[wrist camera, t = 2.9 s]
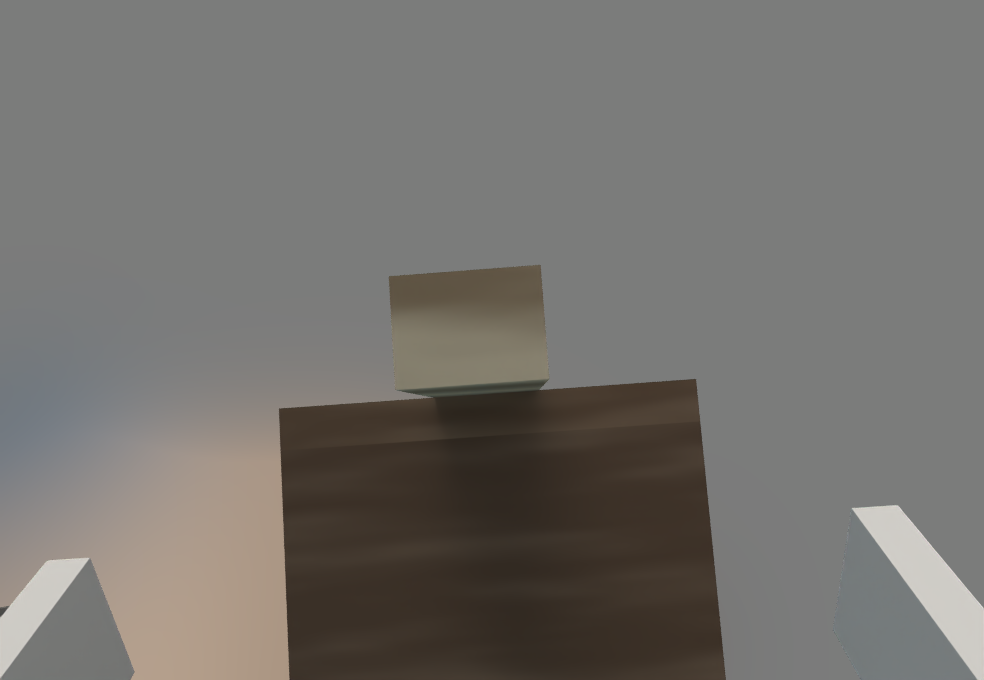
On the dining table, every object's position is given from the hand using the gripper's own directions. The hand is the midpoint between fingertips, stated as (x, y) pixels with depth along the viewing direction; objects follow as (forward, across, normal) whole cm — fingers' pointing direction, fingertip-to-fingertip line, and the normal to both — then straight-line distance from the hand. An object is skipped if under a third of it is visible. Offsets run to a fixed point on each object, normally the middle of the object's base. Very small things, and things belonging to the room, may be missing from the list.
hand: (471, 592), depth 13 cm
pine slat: (+17, 0, -5) cm, 18 cm away
